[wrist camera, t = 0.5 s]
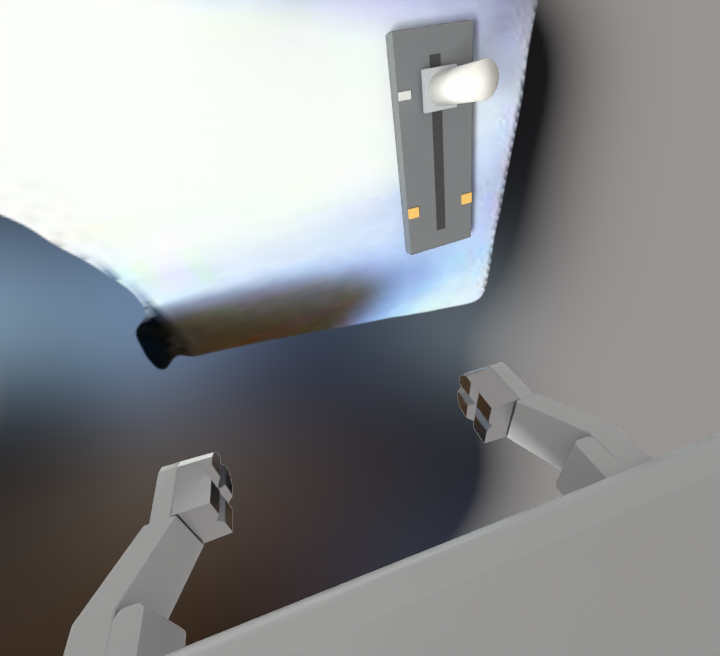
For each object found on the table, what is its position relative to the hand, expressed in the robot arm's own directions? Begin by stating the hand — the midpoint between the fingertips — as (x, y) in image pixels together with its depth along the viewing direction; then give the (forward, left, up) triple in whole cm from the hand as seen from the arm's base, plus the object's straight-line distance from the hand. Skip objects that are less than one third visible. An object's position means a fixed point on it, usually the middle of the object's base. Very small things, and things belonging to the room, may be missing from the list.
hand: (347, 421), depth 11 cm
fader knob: (-9, +30, -43) cm, 53 cm away
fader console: (-1, +30, -46) cm, 54 cm away
